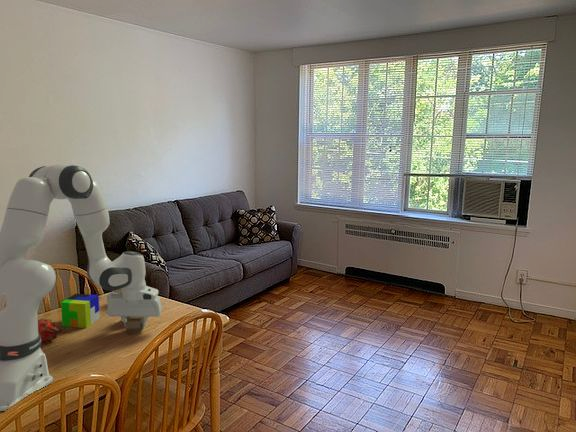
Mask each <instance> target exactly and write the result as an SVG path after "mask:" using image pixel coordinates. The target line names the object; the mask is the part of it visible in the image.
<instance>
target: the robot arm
mask: <svg viewBox="0 0 576 432" xmlns="http://www.w3.org/2000/svg"><path fill="white" fill-rule="evenodd" d="M54 199H56V200H68V202H69V203H70V205H71V210H72V213H73V217H74V220H75V222H76V225H77V227H78V230H79V232H80V233H81V234H80V235H82V239H83V242H84V247H85V251H86V256H87V267H86V275H87V278H88V279H89V281H90V282H92V283H94V284H97V286H98V287H100V288H101V289H102V290H105V291H107V292H110V293H108V294H107V295H106V301H107V308H106V309H107V311H106V314H107V315H108V316H109V317H120V320H121V321H122V323H123V325H124V327H125V328H127V324H126V321H127V320H126V318H125V317H126V316H133V317H144V319H145V320H144V321H142V322H141V327H144V328H145V327H146V326H147V320H148V319H149V317H150V318H151V317H152V318H153V317H154V318H155V317H156V318H158V317H160V316H161V315H162V312H163V311H162V310H163V309H162V308H163V307H162V306H163V305H162V301H161V298H160V296H158V295H159V290H158V289H157V288H154V287H151V286H148V285H147V283H146V280H145V279H146V274H147V273H146V272H147V271H146V262H145V258H144V255H143V254H141V253H139V252H137V251H131V250H127V251H126V250H125V251H124V252H122V254H121V255H120V256H118V257H117V258H115V259H114V260H113V261H112V260H111V259H110V258H109V257H108V256H107V253H106V249H105V246H104V241H103V232H105V231H106V230H107V229H108V227H109V226H110V224H111V223H110V214H109V209H108V204H107V202H106V199H105V197H104V193H103V191H102V190H101V187H100V185H99V184H98V182H96V180H94V179H93V178H92V176H91V174H90V173H89V171H88V170H87V169H86V168H84V167H81V166H78V165H74V164H73V165H71V164H70V165H63V164H53V165H43V166H40V167H37V168H35V169H34V170H32V171H31V173H30V174H29V176H26V177H25V176H24V177H23V178H20V179H18V181H17V182H16V184H15V185H14V187H13V189H12V192H11V194H10V196H9V200H8V203H7V206H6V210H5V214H4V217H3V222H2V225H1V228H0V295H2V296H5V299H6V303H5V307H3V308H1V309H0V412H2V411H3V412H5V411H8V410H7V409H8V408H10V407H11V406H13V405H14V404H16V403H17V402H19V401H20V400H21V399H23V398H24V397H26V396H28V395H29V394H31V393H33V392H34V391H36V390H39V389H41V388H43V387H44V388H46V387H47V386H48V385H49V384H50V383H52V382H53V381H54V377H53V376H52V374H50V372H49V367H48V361H47V357H46V354H45V353H44V351H43V350H42V348H41V346H42V341H41V337H40V333H39V332H38V320H39V319H38V316H39V315H38V314H39V307H40V304H41V302H42V300H43V299H44V298H45V297H46V296H47V295H48V294H49V293H50V292H52V291H53V288H54V287H55V284H56V279H57V278H56V275H57V274H56V271H55V270H54V268H53V267H52V266H51V265H50V264H47V263H45V262H42V261H39V260H35V259H25V257H26V255H27V253H28V252H29V251H30V250H31V249H32V248H33V247H35V246H37V245H39V244H40V243H41V242H42V241H43V239H44V235H45V231H46V226H47V223H48V222H47V221H48V218H49V213H50V205H51V203H52V202H53V201H54ZM121 288H122V292H116V293H114V292H113V291H115V290H118V289H121ZM45 386H46V387H45ZM44 388H43V389H44Z"/></svg>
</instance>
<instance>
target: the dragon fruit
mask: <svg viewBox="0 0 576 432" xmlns="http://www.w3.org/2000/svg"><path fill="white" fill-rule="evenodd" d="M61 331H62V328H61V327H59V325H58V324H57V323H55V322H54V321H53V320H52V319H50V318H49V319H46V318H44V317H43V318H41V319H38V332H39V333H40V337H41V343H42V342H43V343H47V344H48V343H52V341H51V339H53V340H54V339H57V338H58V337H59V333H61Z"/></svg>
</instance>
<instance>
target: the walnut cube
mask: <svg viewBox="0 0 576 432" xmlns="http://www.w3.org/2000/svg"><path fill="white" fill-rule="evenodd" d="M142 321H143V317H133V316H130V318H129V319H128V320H127V321H126V324H127V327H126V334H127V335H135V334H137V335H141V334H142V332H143V330H144V328H145V327H141V322H142Z"/></svg>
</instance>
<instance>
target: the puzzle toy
mask: <svg viewBox="0 0 576 432" xmlns="http://www.w3.org/2000/svg"><path fill="white" fill-rule="evenodd" d="M60 307H61V308H60V309H61V321H62V322H61V325H62V327H67V328H69V327H70V328H80V329H81V328H83V329H87V328H89V326H91V325H93V324H94V323H95V322H96V321H98V320H99V319H100V295H98V294H86V293H74V294H73V295H71V296H69V297H67V298H65V300H63V301H61V302H60Z"/></svg>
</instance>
